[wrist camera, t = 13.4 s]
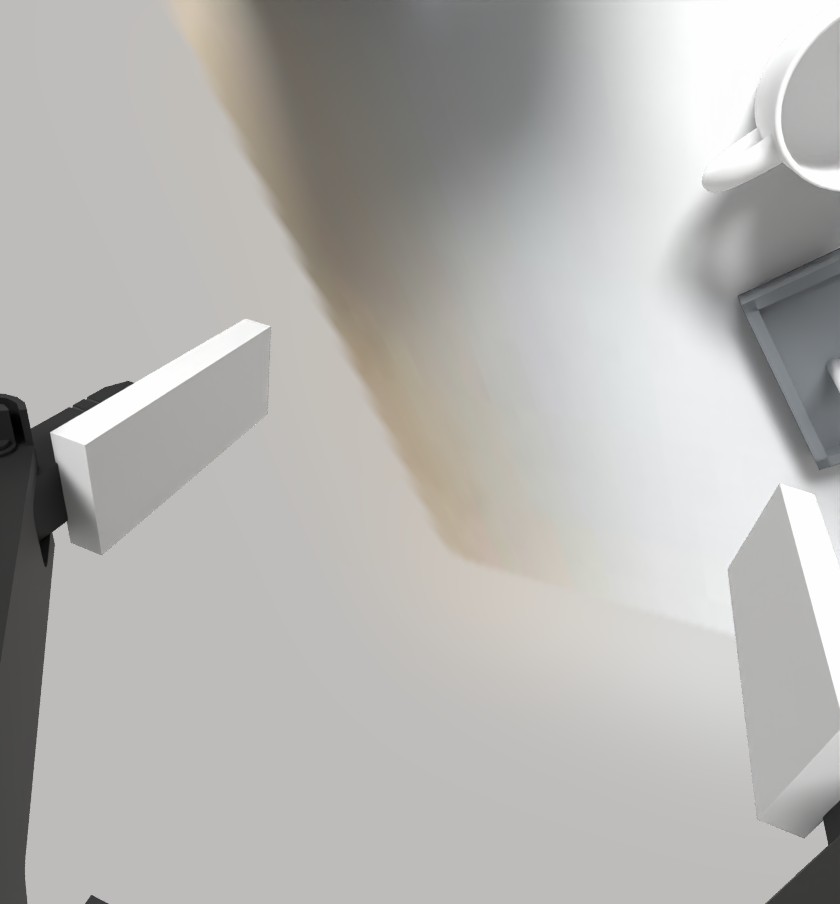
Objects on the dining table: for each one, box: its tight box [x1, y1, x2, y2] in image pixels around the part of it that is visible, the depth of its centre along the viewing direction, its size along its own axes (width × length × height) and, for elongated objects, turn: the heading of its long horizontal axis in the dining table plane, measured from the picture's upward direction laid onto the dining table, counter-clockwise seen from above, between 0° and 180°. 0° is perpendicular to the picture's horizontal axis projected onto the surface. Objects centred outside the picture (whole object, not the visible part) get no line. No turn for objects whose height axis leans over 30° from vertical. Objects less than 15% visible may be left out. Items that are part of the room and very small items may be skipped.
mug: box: [702, 6, 840, 192], centre depth 34 cm, size 12×8×10 cm
